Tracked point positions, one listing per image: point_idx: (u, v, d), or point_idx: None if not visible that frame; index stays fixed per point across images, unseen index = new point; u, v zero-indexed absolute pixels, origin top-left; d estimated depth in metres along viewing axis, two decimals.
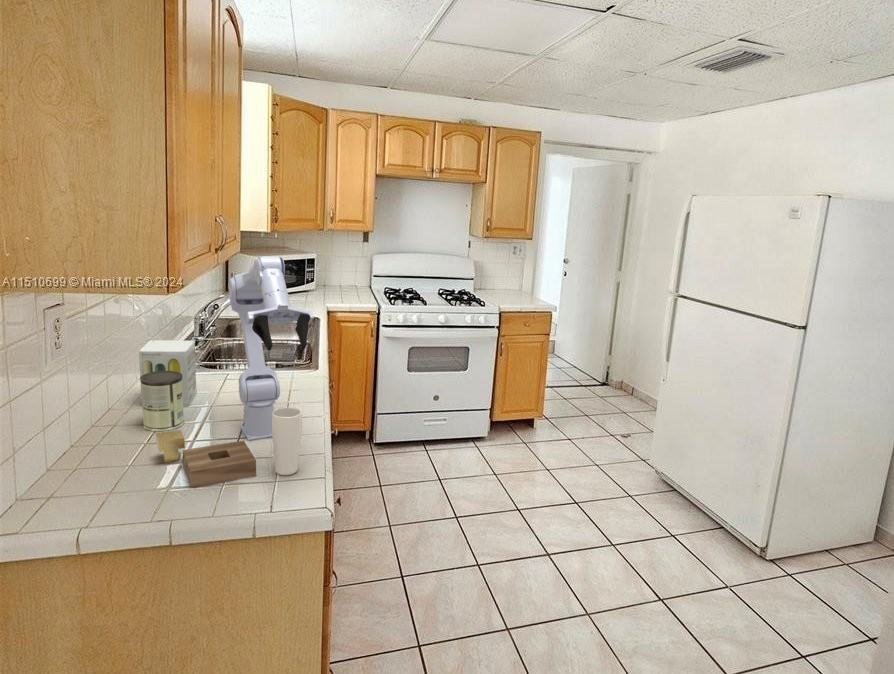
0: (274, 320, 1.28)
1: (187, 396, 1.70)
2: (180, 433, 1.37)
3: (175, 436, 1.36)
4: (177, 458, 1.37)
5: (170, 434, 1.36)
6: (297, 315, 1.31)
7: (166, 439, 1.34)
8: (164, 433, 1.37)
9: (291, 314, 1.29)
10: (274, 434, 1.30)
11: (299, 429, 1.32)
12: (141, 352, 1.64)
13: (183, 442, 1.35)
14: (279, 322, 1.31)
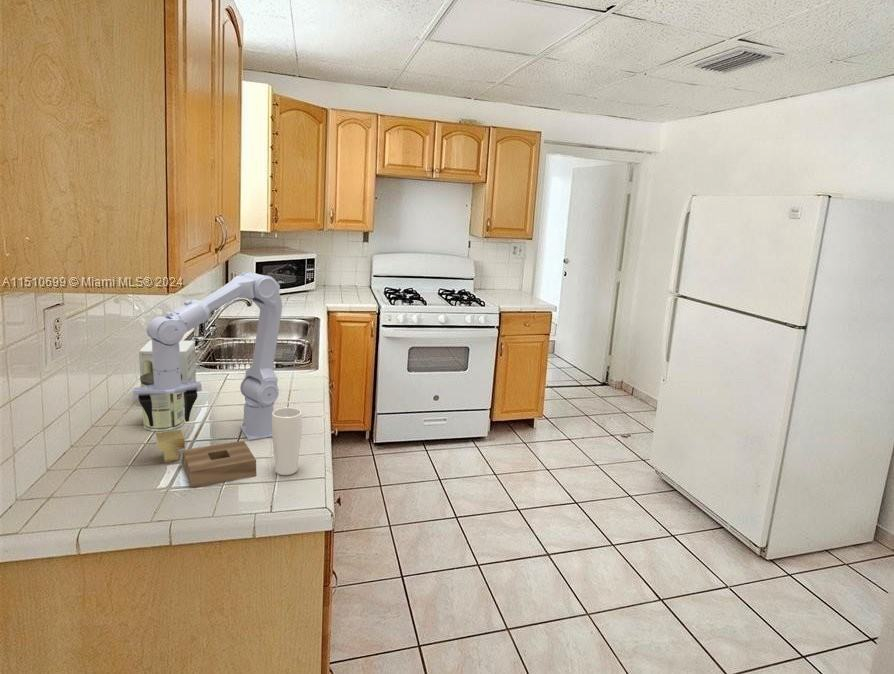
0: None
1: None
2: (180, 433, 1.37)
3: (175, 436, 1.36)
4: (177, 458, 1.37)
5: (170, 434, 1.36)
6: None
7: (166, 439, 1.34)
8: (164, 433, 1.37)
9: None
10: (274, 434, 1.30)
11: (299, 429, 1.32)
12: (141, 352, 1.64)
13: (183, 442, 1.35)
14: None
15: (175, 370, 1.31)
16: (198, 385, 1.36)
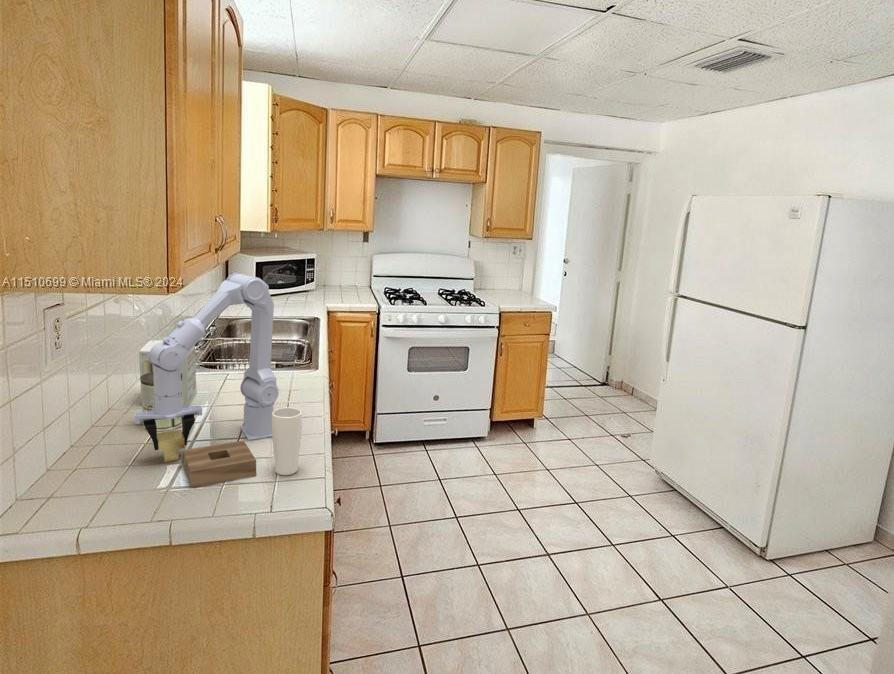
0: None
1: (187, 396, 1.70)
2: (180, 433, 1.37)
3: (175, 436, 1.36)
4: (177, 458, 1.37)
5: (170, 434, 1.36)
6: None
7: (166, 439, 1.34)
8: (164, 433, 1.37)
9: None
10: (274, 434, 1.30)
11: (299, 429, 1.32)
12: (141, 352, 1.64)
13: (183, 442, 1.35)
14: None
15: (176, 395, 1.32)
16: (199, 409, 1.37)
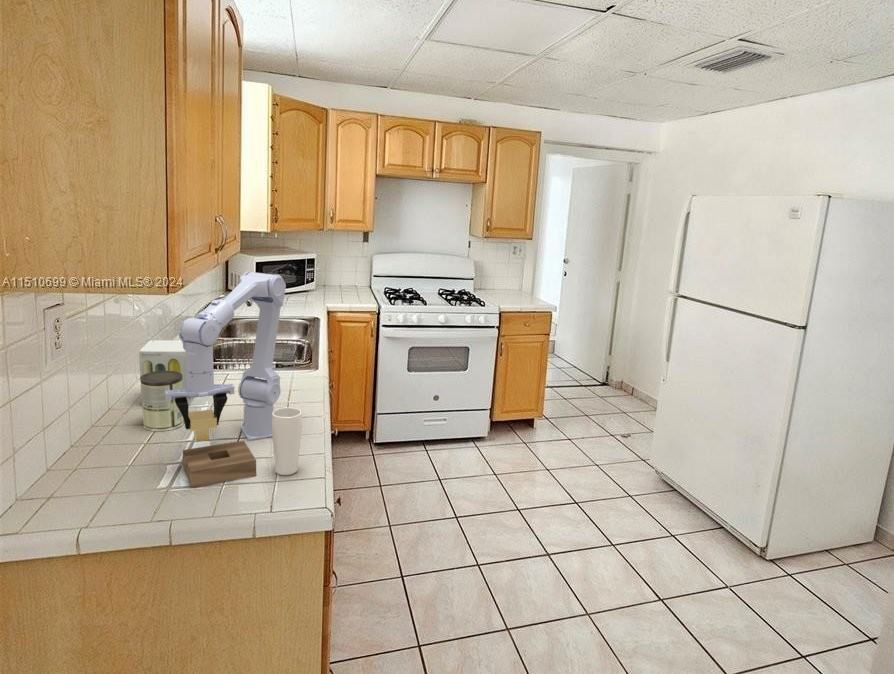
0: None
1: None
2: (211, 413, 1.33)
3: (207, 415, 1.32)
4: (208, 438, 1.32)
5: (201, 414, 1.32)
6: None
7: (198, 418, 1.29)
8: (195, 412, 1.33)
9: None
10: (274, 434, 1.30)
11: (299, 429, 1.32)
12: (141, 352, 1.64)
13: (215, 422, 1.31)
14: None
15: (208, 372, 1.28)
16: (231, 388, 1.33)
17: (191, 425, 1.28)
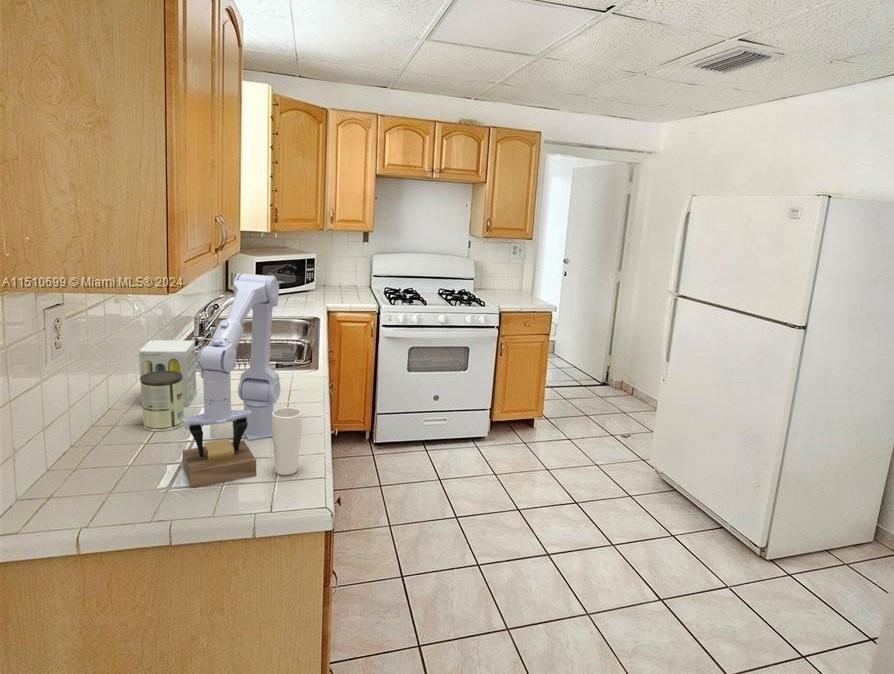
0: None
1: (187, 396, 1.70)
2: (228, 443, 1.33)
3: (224, 445, 1.32)
4: None
5: (218, 444, 1.32)
6: None
7: (216, 449, 1.29)
8: (212, 442, 1.33)
9: None
10: (274, 434, 1.30)
11: (299, 429, 1.32)
12: (141, 352, 1.64)
13: (232, 452, 1.31)
14: None
15: (226, 399, 1.28)
16: (248, 414, 1.33)
17: (208, 456, 1.28)
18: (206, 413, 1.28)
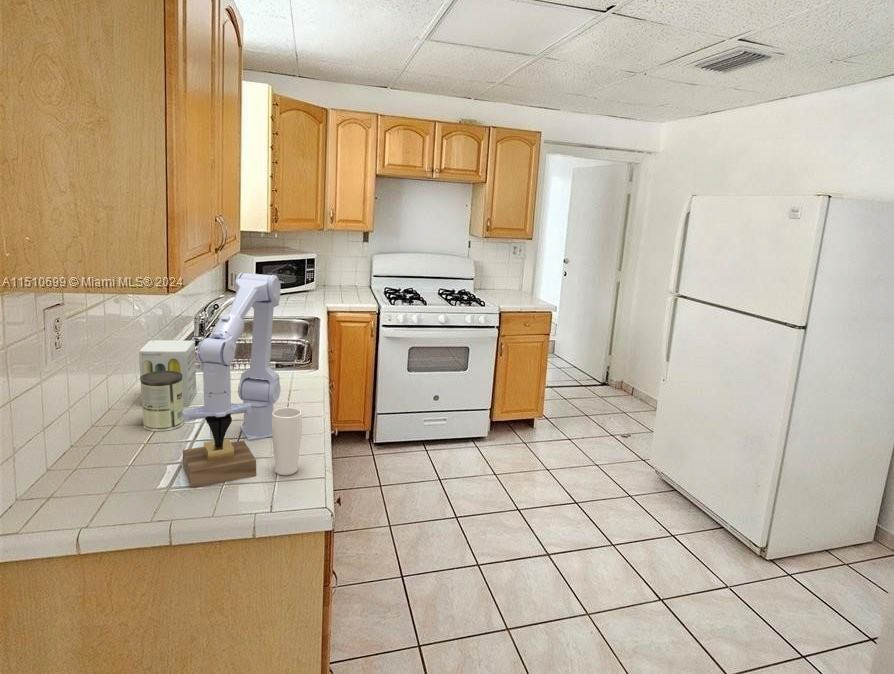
0: None
1: (187, 396, 1.70)
2: (228, 443, 1.33)
3: (224, 445, 1.32)
4: None
5: None
6: None
7: (216, 449, 1.29)
8: (212, 442, 1.33)
9: None
10: (274, 434, 1.30)
11: (299, 429, 1.32)
12: (141, 352, 1.64)
13: (232, 452, 1.31)
14: None
15: (226, 392, 1.28)
16: (248, 407, 1.32)
17: (208, 456, 1.28)
18: (206, 406, 1.27)
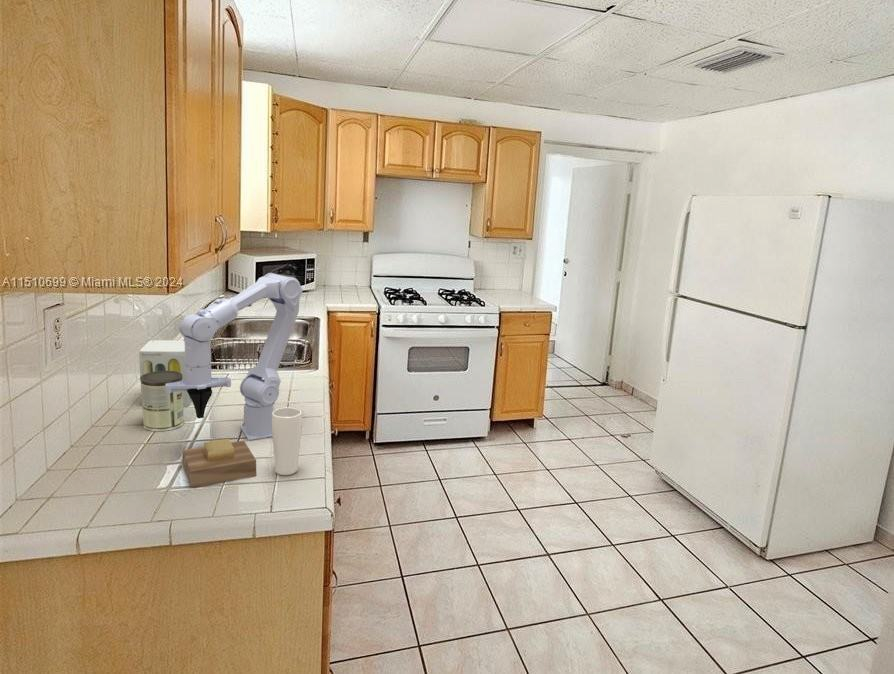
0: None
1: (187, 396, 1.70)
2: (228, 443, 1.33)
3: (224, 445, 1.32)
4: None
5: (218, 444, 1.32)
6: None
7: (216, 449, 1.29)
8: (212, 442, 1.33)
9: (209, 385, 1.38)
10: (274, 434, 1.30)
11: (299, 429, 1.32)
12: (141, 352, 1.64)
13: (232, 452, 1.31)
14: None
15: (206, 366, 1.36)
16: (228, 381, 1.40)
17: (208, 456, 1.28)
18: (187, 379, 1.35)
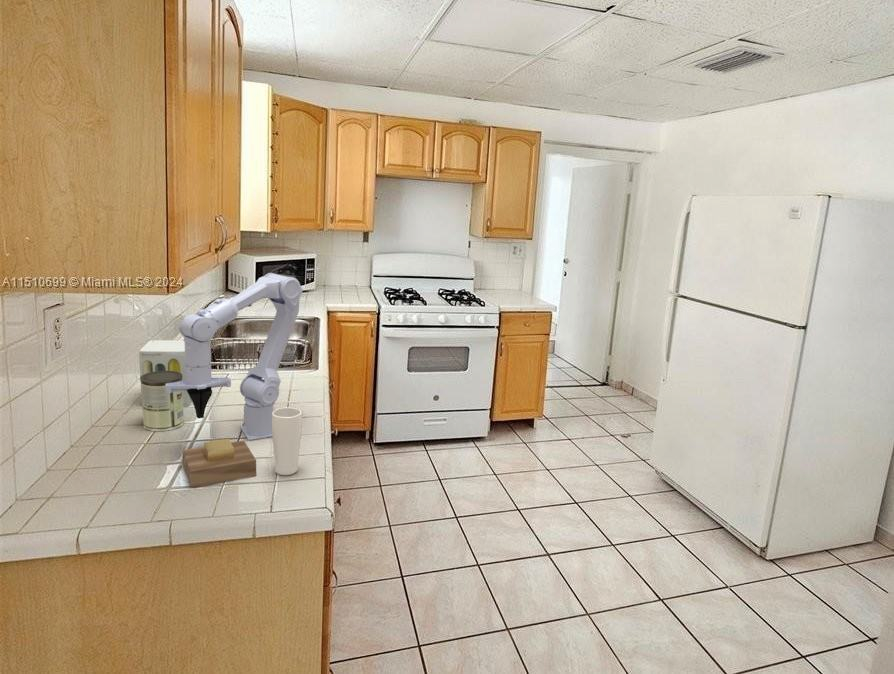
0: None
1: (187, 396, 1.70)
2: (228, 443, 1.33)
3: (224, 445, 1.32)
4: None
5: (218, 444, 1.32)
6: None
7: (216, 449, 1.29)
8: (212, 442, 1.33)
9: (209, 385, 1.38)
10: (274, 434, 1.30)
11: (299, 429, 1.32)
12: (141, 352, 1.64)
13: (232, 452, 1.31)
14: None
15: (206, 366, 1.36)
16: (228, 381, 1.40)
17: (208, 456, 1.28)
18: (187, 379, 1.35)
